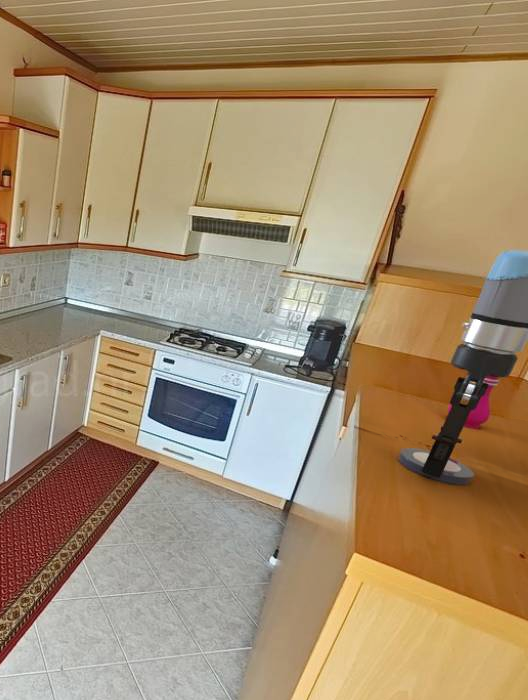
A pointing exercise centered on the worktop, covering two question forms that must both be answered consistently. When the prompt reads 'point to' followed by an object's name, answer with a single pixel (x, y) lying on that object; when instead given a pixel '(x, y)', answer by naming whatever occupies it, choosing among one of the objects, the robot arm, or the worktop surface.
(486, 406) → the pepper mill
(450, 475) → the plate
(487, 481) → the worktop surface
